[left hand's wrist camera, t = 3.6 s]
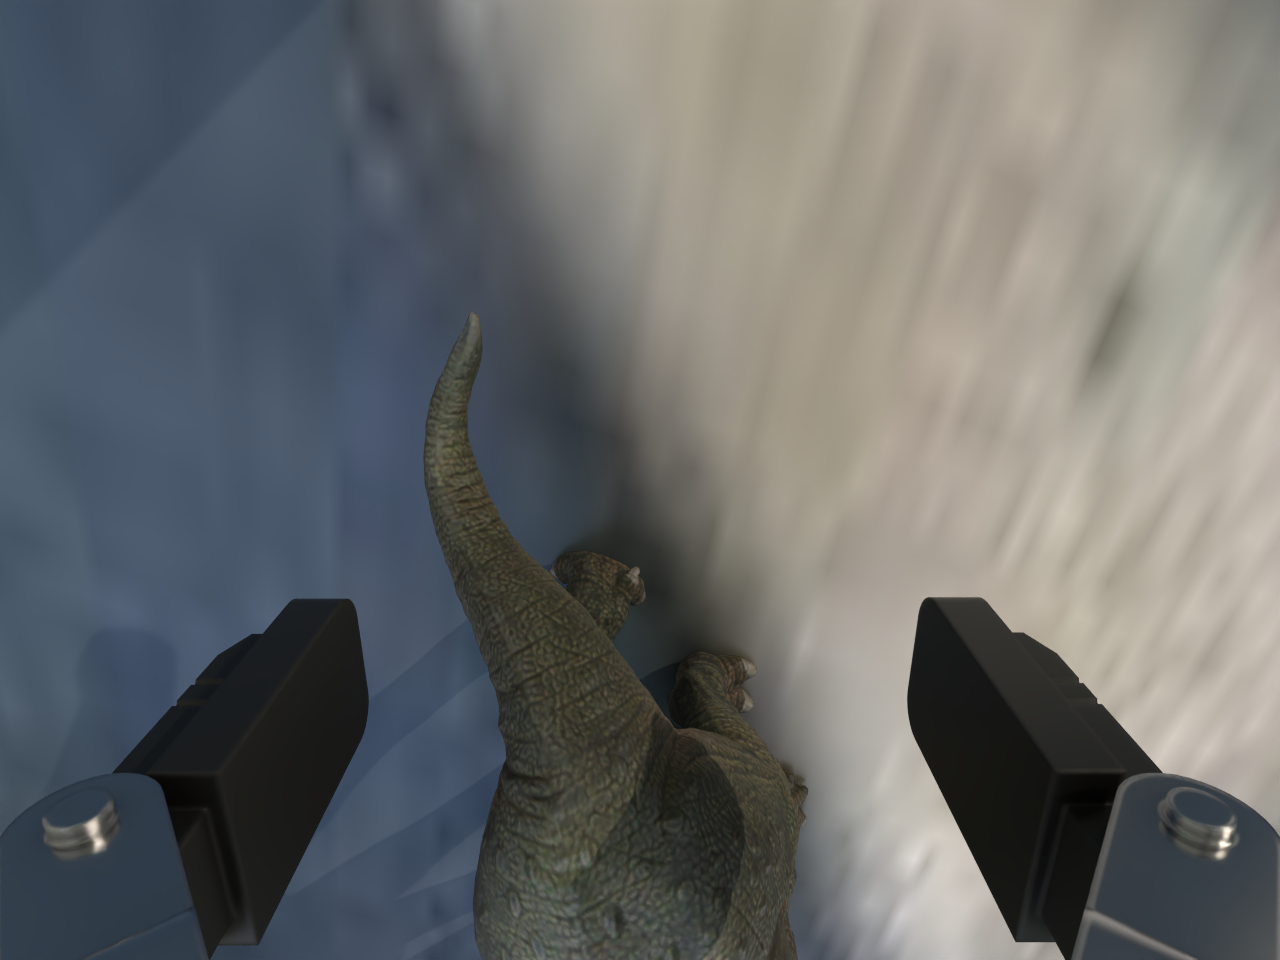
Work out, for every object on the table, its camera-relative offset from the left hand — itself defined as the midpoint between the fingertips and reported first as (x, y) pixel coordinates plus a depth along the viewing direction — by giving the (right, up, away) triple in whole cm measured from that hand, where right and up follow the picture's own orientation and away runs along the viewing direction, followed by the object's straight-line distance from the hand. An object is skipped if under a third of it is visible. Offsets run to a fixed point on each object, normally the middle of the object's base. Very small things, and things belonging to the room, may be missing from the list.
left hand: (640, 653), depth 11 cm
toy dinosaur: (0, -4, +10) cm, 10 cm away
